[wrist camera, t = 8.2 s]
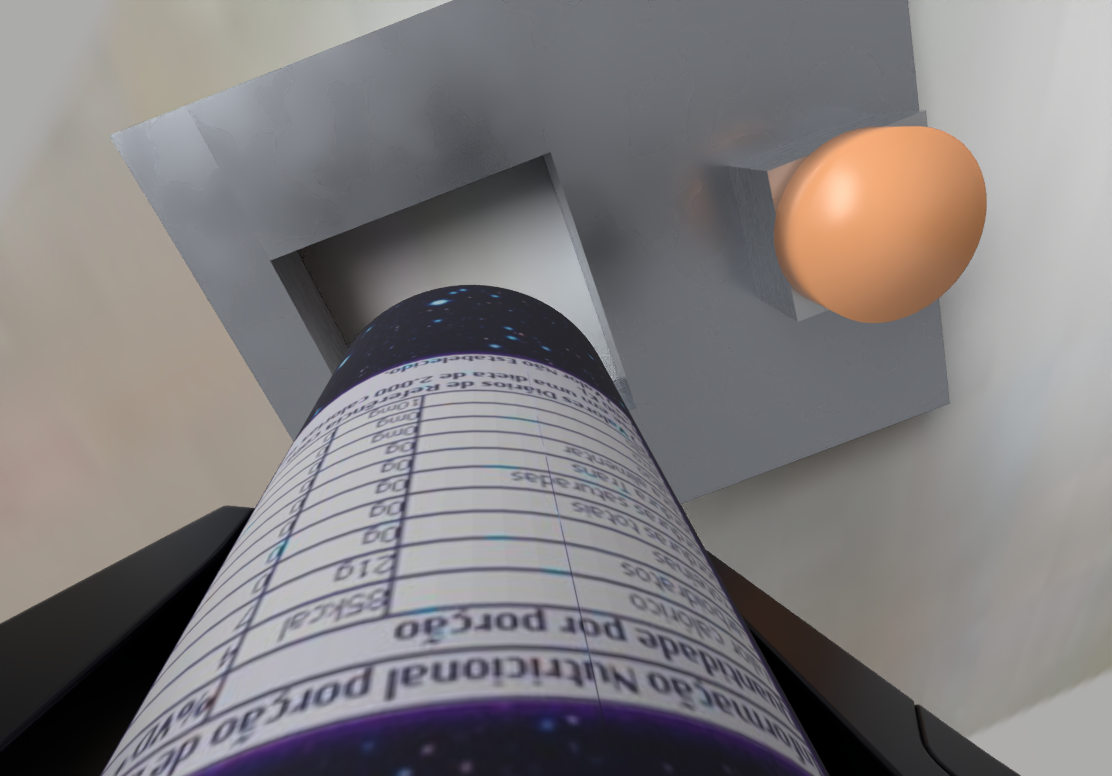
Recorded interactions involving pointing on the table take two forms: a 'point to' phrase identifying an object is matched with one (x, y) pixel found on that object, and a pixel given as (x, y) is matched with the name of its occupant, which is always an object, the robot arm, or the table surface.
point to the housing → (574, 200)
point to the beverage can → (467, 583)
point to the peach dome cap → (880, 221)
